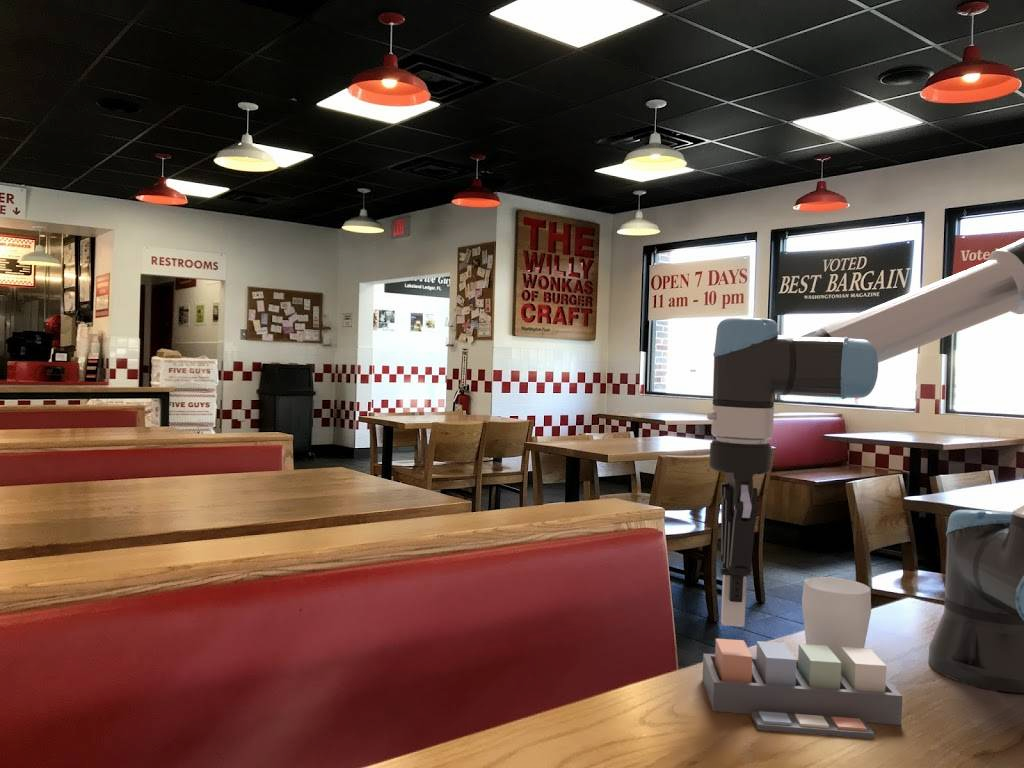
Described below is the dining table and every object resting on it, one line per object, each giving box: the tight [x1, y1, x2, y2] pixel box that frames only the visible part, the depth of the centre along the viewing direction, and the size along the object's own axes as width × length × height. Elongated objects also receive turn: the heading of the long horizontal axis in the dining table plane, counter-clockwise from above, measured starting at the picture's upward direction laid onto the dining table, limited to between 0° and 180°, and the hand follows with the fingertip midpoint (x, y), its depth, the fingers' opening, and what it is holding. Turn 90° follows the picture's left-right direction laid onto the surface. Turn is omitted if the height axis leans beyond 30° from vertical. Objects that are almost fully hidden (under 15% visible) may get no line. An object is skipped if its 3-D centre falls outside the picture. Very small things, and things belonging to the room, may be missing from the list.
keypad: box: [702, 653, 903, 726], centre depth 101 cm, size 22×10×4 cm, turn 84°
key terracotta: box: [714, 638, 753, 683], centre depth 102 cm, size 4×6×4 cm, turn 174°
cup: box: [801, 576, 872, 661], centre depth 112 cm, size 9×9×12 cm
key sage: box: [797, 643, 841, 689], centre depth 101 cm, size 4×6×4 cm, turn 174°
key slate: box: [755, 640, 798, 686], centre depth 101 cm, size 4×6×4 cm, turn 174°
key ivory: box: [840, 647, 887, 692], centre depth 100 cm, size 4×6×4 cm, turn 174°
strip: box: [751, 711, 875, 740], centre depth 94 cm, size 13×4×1 cm, turn 84°
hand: (732, 624), depth 102 cm, fingers closed
